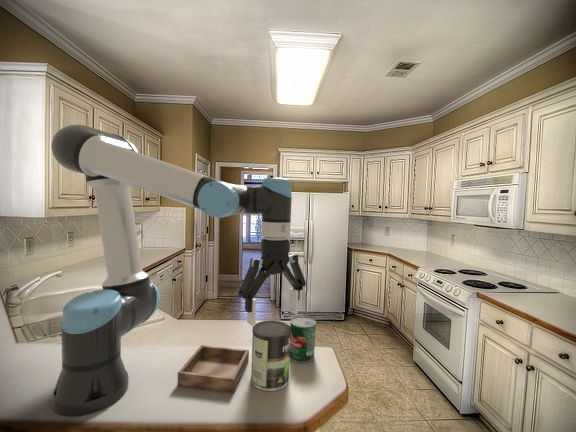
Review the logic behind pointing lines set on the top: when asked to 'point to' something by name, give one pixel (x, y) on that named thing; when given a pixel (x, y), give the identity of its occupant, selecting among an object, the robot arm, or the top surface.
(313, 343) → the canned tomato
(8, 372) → the top surface
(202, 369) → the tray
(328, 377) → the top surface
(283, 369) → the coffee can
